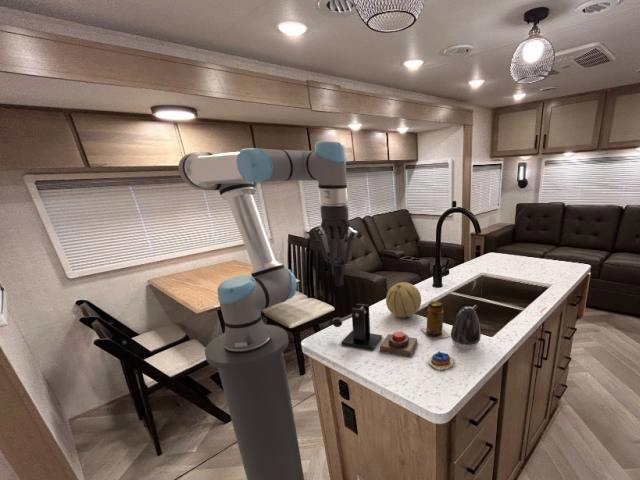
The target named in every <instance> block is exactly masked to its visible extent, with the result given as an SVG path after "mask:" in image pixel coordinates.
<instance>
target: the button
mask: <svg viewBox="0 0 640 480" xmlns="http://www.w3.org/2000/svg"><path fill="white" fill-rule="evenodd" d="M392 334H393V339H394V340H395V341H403V340H404V339H405V334H406V333H405V332H403V331H402V330H401V331H399V330H397V331H394V332H393V333H392Z"/></svg>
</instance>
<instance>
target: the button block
mask: <svg viewBox="0 0 640 480" xmlns="http://www.w3.org/2000/svg"><path fill="white" fill-rule="evenodd" d="M404 334H405V339H404V340H403V341H395V340H394V339H393V333H392V334H390V333H388V334H387V335H386V337H385V338H384V339H383V341H382V342H381V343H380V345H379V352H381V353H385V354H391V355H392V354H393V355H396V356H397V355H398V356H405V357H411V356H412V355H413V353H414V351H415V349H416V347H417V345H418V338H417V337H410V336H409V335H408V334H406V333H404Z"/></svg>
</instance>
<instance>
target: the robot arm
mask: <svg viewBox="0 0 640 480" xmlns="http://www.w3.org/2000/svg"><path fill="white" fill-rule="evenodd" d="M178 172H179V175H180V177H181V179H182V180H183V181H184V182H185V183H186V184H187V185H189V186H190V187H191V188H194V189H197V190H201V191H218V193H219V195H220V198H221V199H223V200H225V201H227V202H228V205H229V208H230V210H231V213H232V216H233V219H234V221H235V224H236V227H237V229H238V231H239V234H240V237H241V239H242V242H243V244H244V247H245V250H246V252H247V255H248V257H249V260H250V263H251V265H252V270H251V271H250V274H242V275H239V276H238V275H236V276H232V277H230V278H226V279H225V280H223V281H221V283H220V284H219V285H218V287H217V301H218V302H219V306H220V310H221V314H222V318H223V323H224V333H225V338H224V340H223V345H224V348H225V350H226V351H228V352H230V353H248V352H252V351H255V350H258V349H260V348H262V347H264V346H265V345H267V344H268V343H269V342H270V340H271V336H270V332H269V330H268V329H267V327H266V325H267V324H266V323H265V322H264V321H263V318H262V312H261V311H263V310H266V309H269V308H270V307H274V306H276V305H278V304H281V303H285V302H287V301H288V300H291V299H292V298H294V296H295V295H296V292H297V288H298V283H297V278H296V276H295V274H294V273H293V272H292V270H291V269H289V268H286V267H285V265H284V263H283V262H281V261H279V260H278V257H277V256H276V253H275V251H274V248H273V245H272V243H271V240H270V237H269V234H268V232H267V228H266V226H265V224H264V220H263V217H262V215H261V213H260V209H259V207H258V203H257V201H256V198H255V194H256V192H257V188H256V187H257V186H258V184H259V183H271V182H292V181H316V182H317V183H318V196H319V204H321V205H320V207H319V209H320V219H321V222H320V226H319V227H317V228H315V229H313V233H314V234H315V236H316V237H317V240H318V244H319V247H320V250H321V253H322V257H323V260H324V262H325V263H329V264H330V267H331V268H330V269H331V275H333V276H334V286H335V287H337V288H338V287H339V288H341V287H342V286H344V285H345V282H344V276H345V275H346V265H348V264H349V263H351V262H352V257H353V251H354V247H355V243H356V242H355V241H356V238H357V236H358V234H359V231H358V230H356V229H355V230H354V228H352V227H351V224H350V221H349V206H348V205H347V204H348V203H349V197H348V183H347V158H346V149H345V145H344V143H342V142H338V141H317V142H315V145H314V150H300V149H298V150H297V149H295V150H294V149H292V150H291V149H270V148H260V147H250V148H242V149H240V150H239V151H235V152H233V151H231V152H214V151H212V152H211V151H209V152H208V151H207V152H206V151H195V152H190V153H187V154H185V155H183V156H182V157H181V158H180V160H179V162H178ZM346 235H347V239H346ZM326 236H327V237H326ZM345 241H346V246H345Z"/></svg>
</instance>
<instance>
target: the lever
mask: <svg viewBox="0 0 640 480" xmlns="http://www.w3.org/2000/svg"><path fill="white" fill-rule="evenodd" d="M358 309H364V311H365V313H366V310H365V308H364V307H363V306H362V307H360V308H358ZM350 319H352V313H350V314H349V315H346V316H344V317H342V318H341V317H334V318H333V319H332V325H333V327H335V328H340V327H341V326H343V322H345V321H347V320H350Z"/></svg>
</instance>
